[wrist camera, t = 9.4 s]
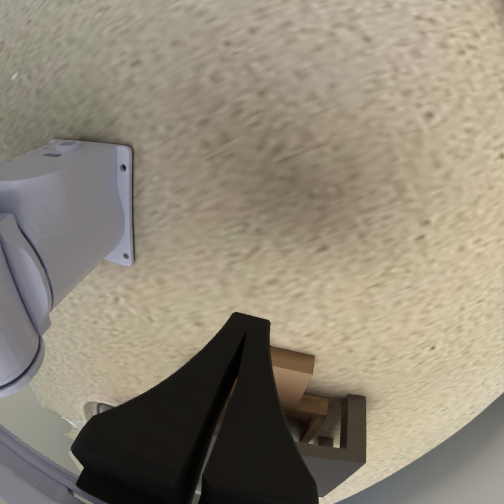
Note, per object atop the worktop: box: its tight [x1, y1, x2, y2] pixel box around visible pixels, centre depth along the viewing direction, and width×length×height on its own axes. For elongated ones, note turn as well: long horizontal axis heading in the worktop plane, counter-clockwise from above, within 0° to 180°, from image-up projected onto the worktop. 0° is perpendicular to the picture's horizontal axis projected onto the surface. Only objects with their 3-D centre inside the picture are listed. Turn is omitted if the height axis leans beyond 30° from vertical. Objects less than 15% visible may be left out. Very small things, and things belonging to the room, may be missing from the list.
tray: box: [218, 347, 328, 443], centre depth 27 cm, size 14×10×4 cm
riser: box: [201, 394, 366, 497], centre depth 27 cm, size 11×17×7 cm, turn 82°
